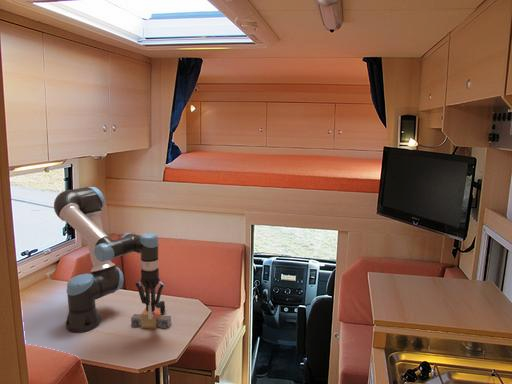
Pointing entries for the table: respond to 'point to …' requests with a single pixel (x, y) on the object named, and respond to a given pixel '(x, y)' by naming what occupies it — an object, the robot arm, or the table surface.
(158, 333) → the table surface
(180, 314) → the table surface
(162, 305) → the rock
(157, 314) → the lever
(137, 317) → the valve
